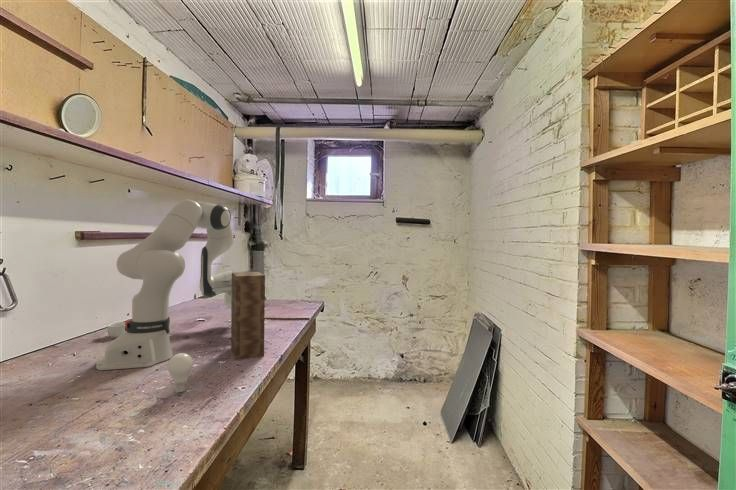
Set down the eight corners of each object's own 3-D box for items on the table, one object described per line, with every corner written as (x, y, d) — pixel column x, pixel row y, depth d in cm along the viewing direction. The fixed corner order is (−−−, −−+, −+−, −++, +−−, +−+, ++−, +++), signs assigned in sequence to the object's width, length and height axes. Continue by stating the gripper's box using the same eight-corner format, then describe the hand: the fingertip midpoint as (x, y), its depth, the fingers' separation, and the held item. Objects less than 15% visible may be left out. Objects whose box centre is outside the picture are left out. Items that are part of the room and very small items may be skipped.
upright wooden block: (235, 360, 125) (236, 276, 125) (231, 348, 138) (231, 272, 137) (264, 356, 130) (264, 275, 129) (257, 345, 142) (258, 271, 142)
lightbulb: (185, 397, 96) (185, 357, 96) (162, 397, 96) (162, 357, 96) (197, 387, 102) (197, 350, 102) (175, 387, 102) (175, 349, 102)
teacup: (128, 337, 151) (128, 325, 150) (106, 340, 146) (106, 327, 146) (129, 332, 159) (129, 320, 159) (108, 334, 155) (108, 322, 154)
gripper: (211, 285, 162) (213, 272, 152) (257, 283, 172) (262, 271, 161) (212, 298, 160) (214, 286, 149) (258, 295, 169) (263, 284, 158)
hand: (239, 278), depth 155 cm, fingers closed on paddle, 3 cm apart
